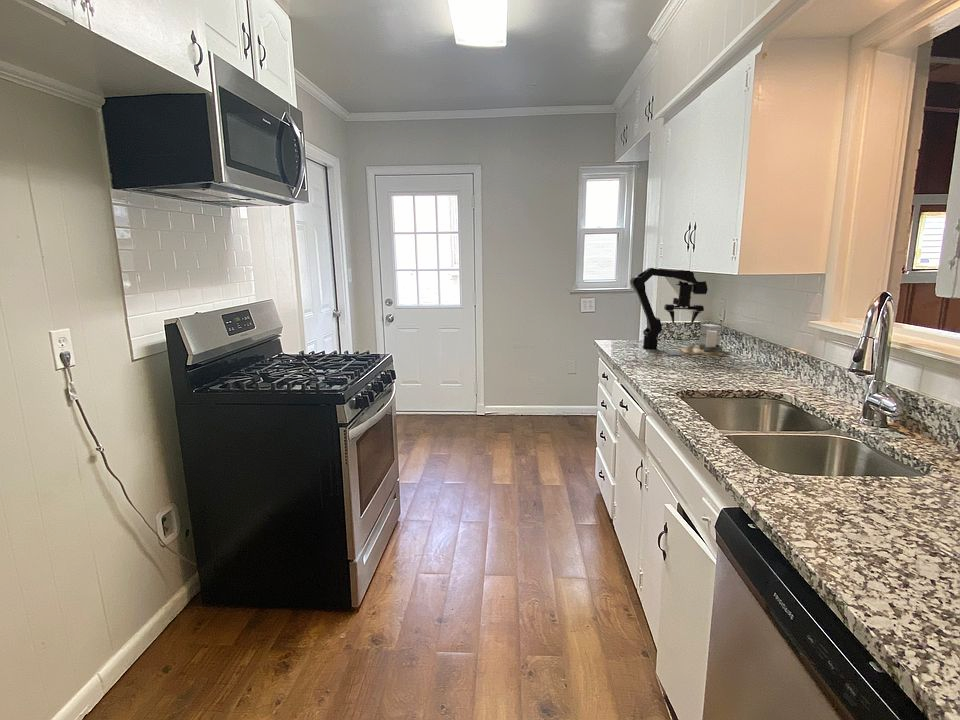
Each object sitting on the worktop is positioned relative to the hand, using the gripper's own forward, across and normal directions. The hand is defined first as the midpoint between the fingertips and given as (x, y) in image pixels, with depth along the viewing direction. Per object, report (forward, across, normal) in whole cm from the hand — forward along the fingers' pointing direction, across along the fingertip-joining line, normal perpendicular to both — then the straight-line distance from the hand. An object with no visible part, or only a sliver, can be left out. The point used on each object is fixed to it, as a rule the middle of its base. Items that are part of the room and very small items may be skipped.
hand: (682, 324), depth 274 cm
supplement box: (+13, -15, -3) cm, 20 cm away
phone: (+14, +6, +16) cm, 22 cm away
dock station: (+13, -8, +9) cm, 18 cm away
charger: (+12, -13, +8) cm, 20 cm away
